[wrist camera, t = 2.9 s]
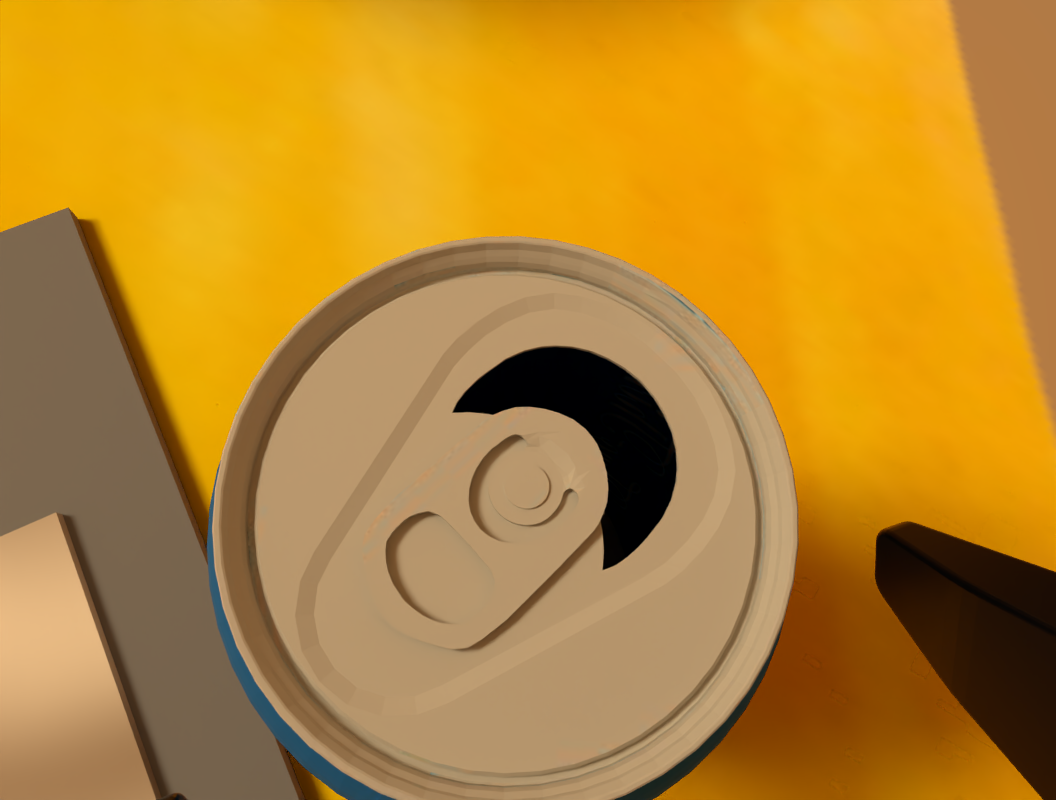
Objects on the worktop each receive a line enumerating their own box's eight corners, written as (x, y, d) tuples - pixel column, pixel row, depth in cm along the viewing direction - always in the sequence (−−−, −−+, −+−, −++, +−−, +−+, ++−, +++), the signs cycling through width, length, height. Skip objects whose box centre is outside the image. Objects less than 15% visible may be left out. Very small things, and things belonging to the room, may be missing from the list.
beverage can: (678, 592, 20) (973, 512, 8) (479, 801, 18) (497, 1070, 6) (493, 402, 21) (523, 92, 9) (290, 583, 19) (17, 481, 8)
